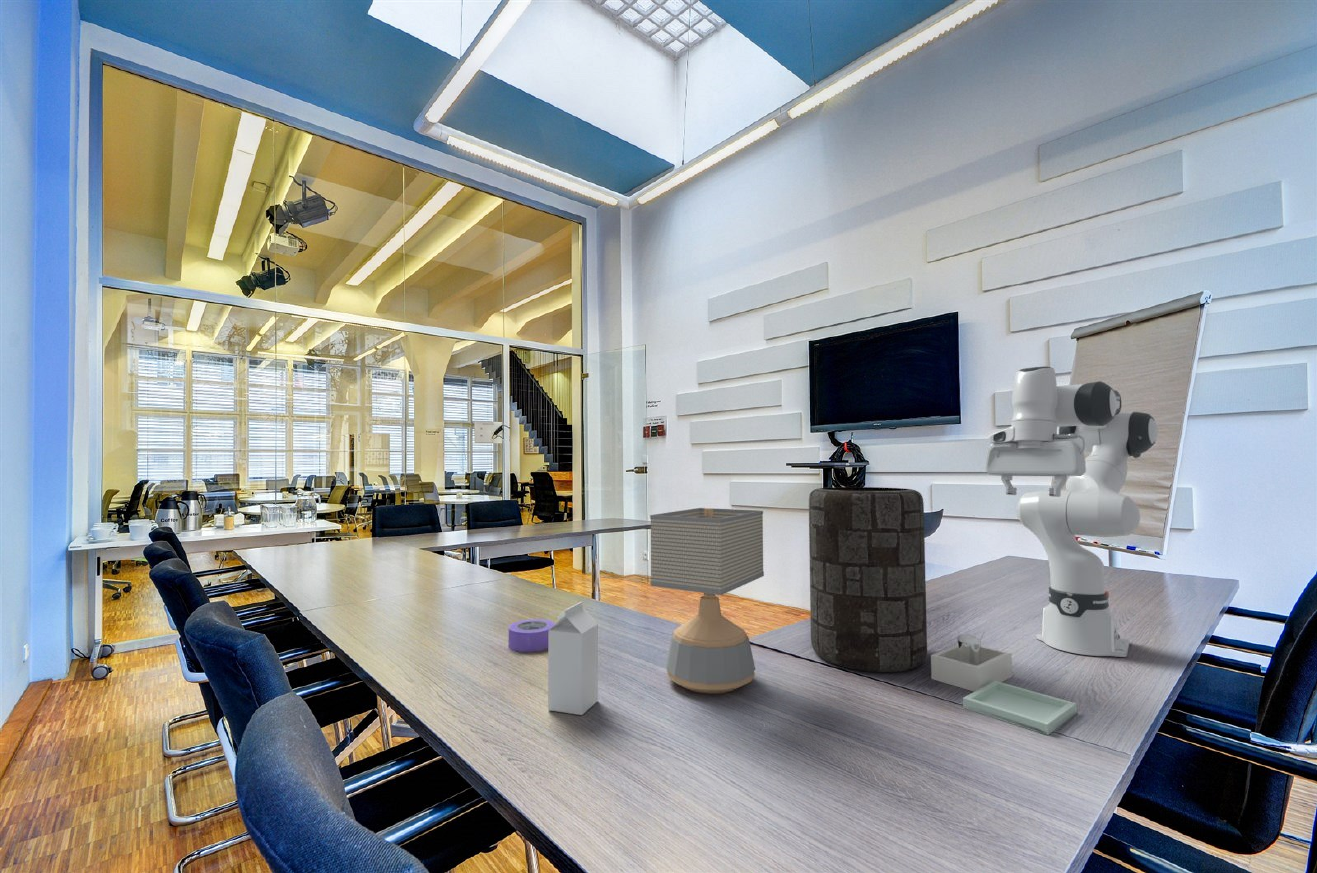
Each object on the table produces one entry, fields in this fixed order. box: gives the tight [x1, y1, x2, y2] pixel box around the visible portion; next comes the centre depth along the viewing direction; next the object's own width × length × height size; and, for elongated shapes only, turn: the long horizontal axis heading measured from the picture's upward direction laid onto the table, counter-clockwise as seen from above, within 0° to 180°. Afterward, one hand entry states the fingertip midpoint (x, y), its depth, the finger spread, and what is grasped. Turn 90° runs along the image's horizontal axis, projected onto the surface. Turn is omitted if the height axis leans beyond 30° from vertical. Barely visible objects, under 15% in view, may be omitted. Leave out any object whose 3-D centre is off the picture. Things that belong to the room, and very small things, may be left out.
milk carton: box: [547, 601, 599, 716], centre depth 111 cm, size 7×7×19 cm
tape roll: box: [508, 618, 556, 653], centre depth 148 cm, size 12×12×5 cm
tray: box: [962, 681, 1078, 736], centre depth 108 cm, size 14×14×2 cm
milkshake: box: [956, 631, 985, 666], centre depth 124 cm, size 4×5×10 cm
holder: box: [930, 643, 1013, 693], centre depth 124 cm, size 15×10×5 cm, turn 127°
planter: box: [808, 486, 928, 673], centre depth 140 cm, size 26×26×40 cm
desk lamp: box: [649, 507, 765, 695], centre depth 123 cm, size 22×19×37 cm
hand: (1032, 495), depth 131 cm, fingers open, 8 cm apart
